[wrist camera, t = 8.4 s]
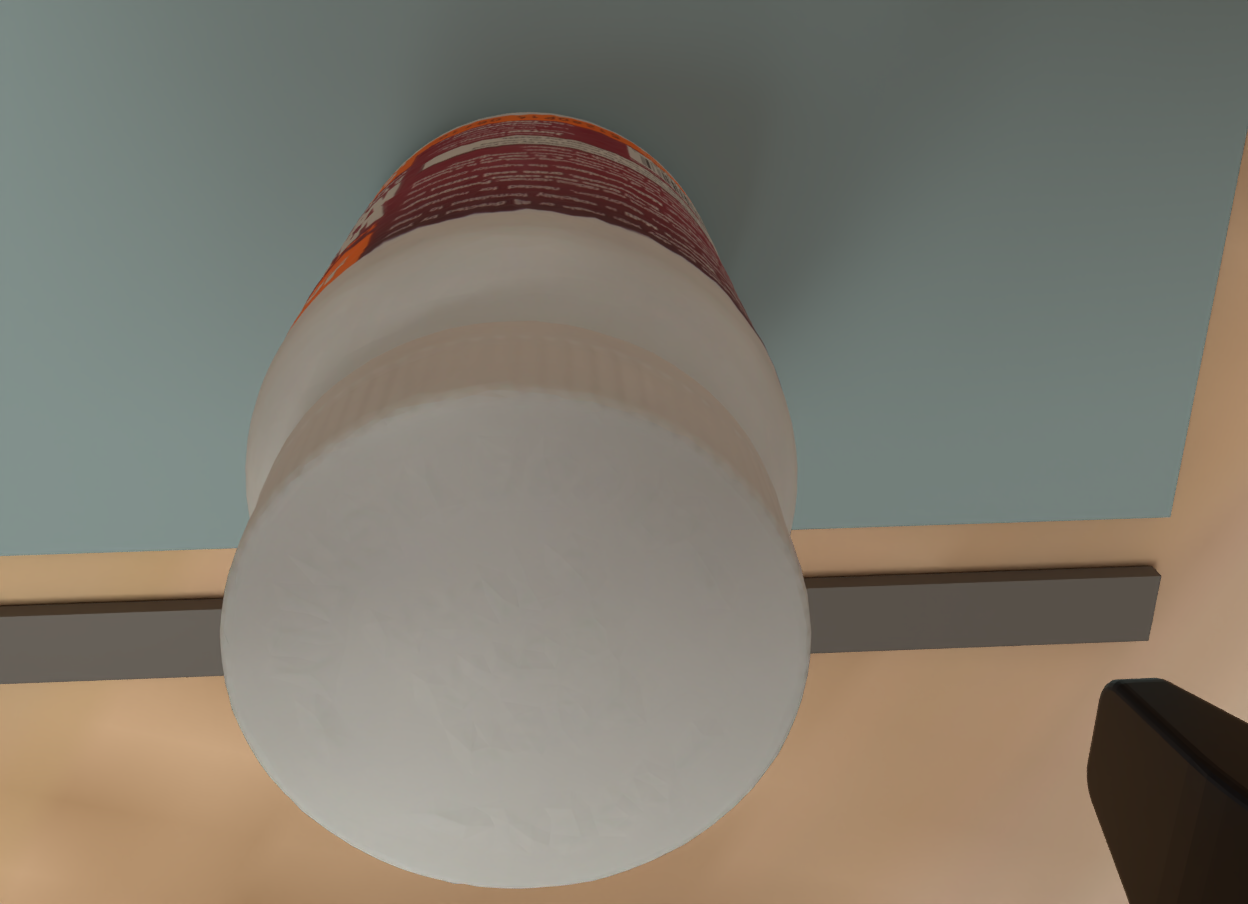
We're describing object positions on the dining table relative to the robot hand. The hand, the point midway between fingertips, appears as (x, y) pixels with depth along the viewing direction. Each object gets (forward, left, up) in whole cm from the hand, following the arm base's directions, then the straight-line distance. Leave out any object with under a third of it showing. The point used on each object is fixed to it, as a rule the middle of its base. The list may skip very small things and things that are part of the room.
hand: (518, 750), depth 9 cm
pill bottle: (0, 0, -13) cm, 13 cm away
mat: (0, 0, -13) cm, 13 cm away
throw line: (-7, 0, -13) cm, 15 cm away
